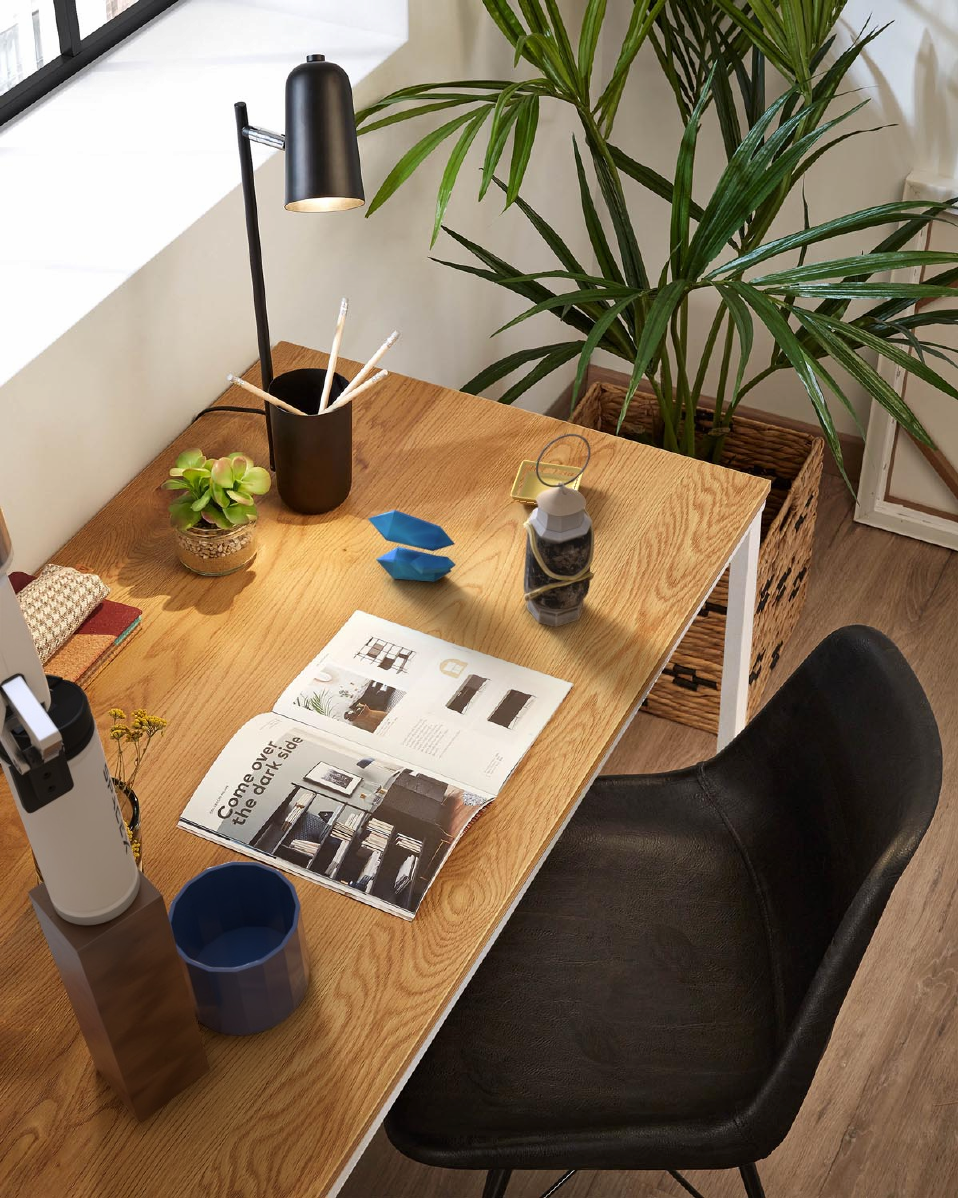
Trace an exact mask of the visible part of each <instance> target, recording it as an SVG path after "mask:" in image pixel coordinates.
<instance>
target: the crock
mask: <svg viewBox="0 0 958 1198" xmlns="http://www.w3.org/2000/svg"><path fill="white" fill-rule="evenodd" d="M301 906H302V905H301V902H300V898H299V896H298V893H297V890H296V887H295V885H294V884H293V882H291V881H290V880H289V879H288V878H287V877H286V875H284V874H283V873H282V872H281V871H280V870H279V869H277V868H274V867H272V866H270V865H266V864H264V863H262V862H259V861H242V860H241V861H239V860H238V861H237V860H233V861H229V862H225V863H221V864H218V865H215V866H211V867H208V868H205V869H204V870H203V871H202V872H200V873H198V874H197V875H195V876H194V877H192V878H191V879H190V880H188V881H187V882H185V884H184V885H183V886H182V887H181V889H180V890H179V891H178V893H177V894H176V895H175V897H174V898H173V900H172V901H171V904H170V907H169V909H168V913H167V914H168V917H169V921H170V925H171V929H172V932H173V936H174V940H175V943H176V947H177V951H178V954H179V958H180V962H181V965H182V969H183V973H184V976H185V980H186V984H187V987H188V991H189V995H190V998H191V1002H192V1006H193V1010H194V1013H195V1017H196V1020H198V1022H199V1023H200V1024H202V1025H204V1026H205V1027H206V1028H208V1029H209V1030H212V1031H214V1032H216V1033H220V1034H224V1035H227V1036H228V1035H229V1036H238V1037H239V1036H250V1035H255V1034H258V1033H263V1032H265V1031H267V1030H270V1029H272V1028H274V1027H277V1026H278V1025H279V1024H281V1023H282V1022H284V1021H285V1020H287V1018H289V1017H290V1016H291V1015H292V1014H293V1013H294V1012H295V1010H296V1009H297V1008H298V1007H299V1005H300V1004H301V1003H302V1001H303V999H304V998H305V995H306V994H307V990H308V987H309V982H310V969H311V965H310V964H311V963H310V958H309V951H308V945H307V937H306V931H305V924H304V920H303V919H304V918H303V912H302V907H301Z"/></svg>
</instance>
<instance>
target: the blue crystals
mask: <svg viewBox="0 0 958 1198" xmlns="http://www.w3.org/2000/svg"><path fill="white" fill-rule="evenodd" d="M367 520H368V521H369V522H370V523H371V524H372V525H373V527H374V528H375V529H376V530H377V532H378V533H379V534H380V535H381V536H382V537H383V539H384V540H385V541H387V542H391V543H395V544H400V545H404V546H409V547H413V548H417V549H422V550H426V551H431V552H436V551H438V550H441V549H445V548H448V547H451V546H454V545H456V543H455V542H454V541H453V540H452V538H451V537H450V536H449V535H448V534H447V533H446V531H445V530H444V529H443V528H442V526H441V525H438V524H435V523H432V522H429V521H427V520H424V519H420V518H418V517H417V516H413V515H411V514H408V513H405V512H401V511H399V510H396V509H394V510H391V511H387V512H384V513H381V514H378V515H374V516H371V517H368V518H367ZM375 561H376V562H377V563H378V564H379V565H380V566H381V567H382V568H383V569H384V570H385V571H386V572H387V574H388V575H389V576H390V577H391V578H392V579H394V580H408V581H421V582H433V583H434V582H437V581H438V580H440V579H441V578H444V577H445V576H446V575H448V574H450V573H451V572H452V570H451V569H453V568H454V567H455V566H457V565H456V563H455V562H454V561H453V560H451V558H450V557H448V556H445V555H436V554H431V553H427V552H423V551H419V550H414V549H410V548H406V547H402V546H397V547H395V548H393V549H391V550H390V551H388V552H386V553H384V554H383V555H380V557H378V558H376V559H375Z"/></svg>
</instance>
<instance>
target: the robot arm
mask: <svg viewBox="0 0 958 1198" xmlns="http://www.w3.org/2000/svg"><path fill="white" fill-rule="evenodd" d="M14 554H15V550H14V545H13V540H12V538H11V535H10V531H9V528H8V524H7V522H6V518H5V515H4V511H3V508H2V505H1V504H0V741H1V743H2V745H3V746H4V748H5V750H6V752H7V753H8V755H9V757H10V759H11V760H12V762H13V764H12V765H11V766H9V767H8V768H9V771H10V773H11V776H12V779H13V782H14V785H15V787H16V790H17V793H18V796H19V799H20V801H21V804H22V807H23V808H24V809H25V811H26V812H27V813H34V812H35V811H37V810H39V809H40V808H42V807H44V806H46V805H47V804H49V803H51V802H52V801H54V800H56V799H57V798H59V797H61V796H62V795H64V794H66V793H68V792H69V791H71V790H72V789H73V787H74V782H73V779H72V776H71V773H70V769H69V766H68V763H67V760H66V756H65V753H64V751H65V749H64V744H62V742H63V741H62V736H61V734H60V732H59V730H58V729H57V728H56V726H55V725H54V723H53V722H52V720H51V719H50V717H49V716H48V715H47V713H46V712H48V710H49V707H50V703H51V697H50V692H49V687H48V683H47V680H46V676H45V675H46V673H45V670H44V667H43V664H42V661H41V658H40V655H39V651H38V649H37V646H36V644H35V641H34V638H33V635H32V633H31V630H30V627H29V625H28V622H27V619H26V617H25V615H24V612H23V610H22V609H23V608H22V607H21V603H20V602H21V601H20V600H19V599H18V597H17V595H16V592H15V589H14V588H13V585H12V583H11V581H10V578H9V575H8V573H7V572H8V570H9V568H10V567H11V565H12V563H13V560H14ZM8 705H9V707H10V708H11V710H12V711H13V713H14V714H15V716H14V717H12V718H10V719H8V720H6V721H4V720H5V713H6V706H8ZM21 725H22V726H23V727H24V728H25V730H26V731H27V733H28V735H29V737H30V739H31V744H32V745H33V746H31V747H29V748H28V749H26V750H24V751H21V749H20V748H19V746H18V744H17V742H16V741H15V739H14V737H13V735H12V734H11V732H10V731H12V730H14V729H16V728H17V727H19V726H21Z"/></svg>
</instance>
